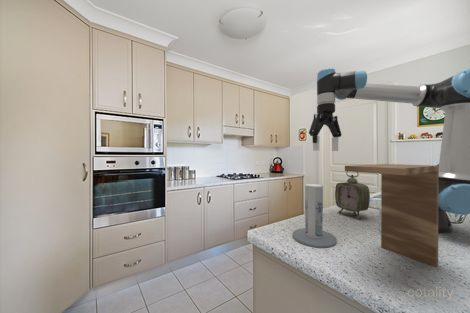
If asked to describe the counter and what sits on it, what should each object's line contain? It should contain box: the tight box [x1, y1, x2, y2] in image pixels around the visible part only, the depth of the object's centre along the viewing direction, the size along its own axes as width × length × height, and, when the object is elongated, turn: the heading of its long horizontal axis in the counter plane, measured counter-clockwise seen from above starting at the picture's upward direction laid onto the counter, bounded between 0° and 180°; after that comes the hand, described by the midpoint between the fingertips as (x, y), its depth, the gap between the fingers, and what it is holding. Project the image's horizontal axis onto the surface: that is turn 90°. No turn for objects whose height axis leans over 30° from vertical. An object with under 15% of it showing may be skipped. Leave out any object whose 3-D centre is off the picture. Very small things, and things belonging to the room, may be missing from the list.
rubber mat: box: [292, 227, 338, 249], centre depth 77 cm, size 16×16×1 cm
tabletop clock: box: [334, 171, 371, 220], centre depth 105 cm, size 14×9×25 cm, turn 23°
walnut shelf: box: [344, 163, 439, 268], centre depth 58 cm, size 24×14×30 cm, turn 120°
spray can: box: [304, 183, 324, 239], centre depth 77 cm, size 6×6×20 cm
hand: (325, 150), depth 89 cm, fingers open, 13 cm apart
